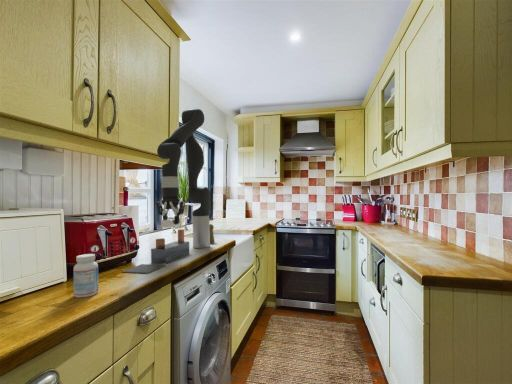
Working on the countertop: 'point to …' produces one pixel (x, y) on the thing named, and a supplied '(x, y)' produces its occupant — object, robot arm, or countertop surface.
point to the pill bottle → (85, 276)
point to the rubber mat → (143, 269)
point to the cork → (211, 233)
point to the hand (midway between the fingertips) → (171, 224)
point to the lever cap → (170, 222)
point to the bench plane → (169, 250)
